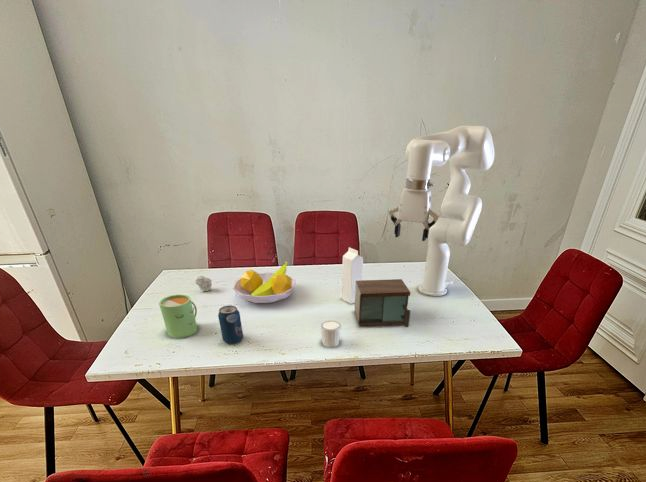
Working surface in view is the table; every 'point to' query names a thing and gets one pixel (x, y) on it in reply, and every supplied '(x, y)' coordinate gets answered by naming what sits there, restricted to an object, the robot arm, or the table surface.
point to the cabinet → (376, 300)
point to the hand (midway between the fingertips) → (410, 238)
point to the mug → (178, 315)
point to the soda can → (230, 324)
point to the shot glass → (330, 333)
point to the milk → (351, 274)
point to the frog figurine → (203, 283)
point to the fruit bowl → (265, 286)
